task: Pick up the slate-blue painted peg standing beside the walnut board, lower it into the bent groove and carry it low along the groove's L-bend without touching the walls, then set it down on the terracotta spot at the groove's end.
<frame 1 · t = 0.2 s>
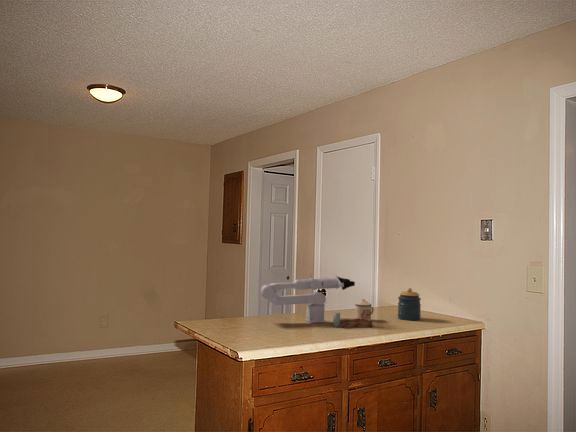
hand: (352, 282, 269), 21 cm above the counter, tool horizontal, fingers open, 7 cm apart
teacup with lid: (364, 320, 274), on the counter
peg: (336, 326, 251), on the counter
groove board: (353, 325, 256), on the counter
canister: (409, 319, 282), on the counter
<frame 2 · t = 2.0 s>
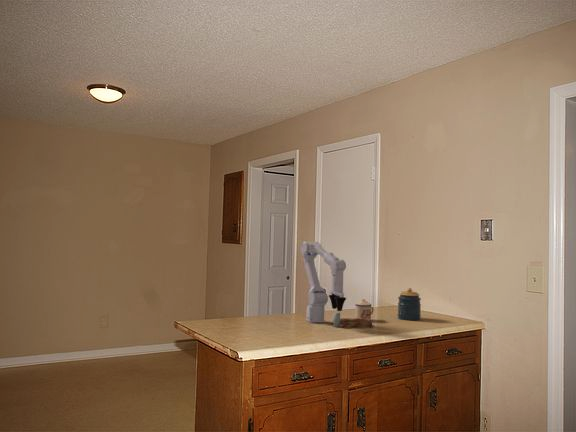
hand: (336, 309, 251), 9 cm above the counter, tool pointing down, fingers open, 7 cm apart
nothing on the counter moved.
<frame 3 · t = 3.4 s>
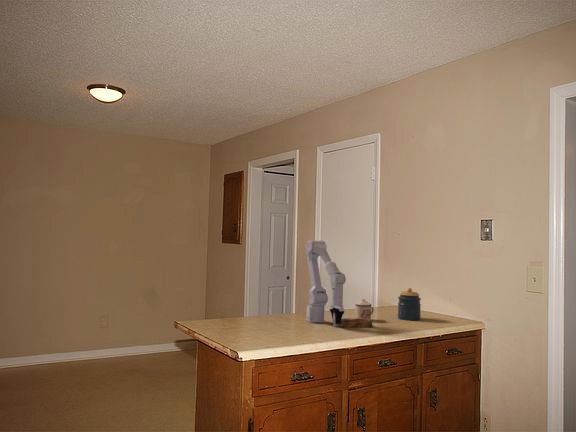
hand: (336, 323, 251), 2 cm above the counter, tool pointing down, fingers closed on peg, 3 cm apart
peg: (336, 326, 251), on the counter, touching gripper
everything else where it was.
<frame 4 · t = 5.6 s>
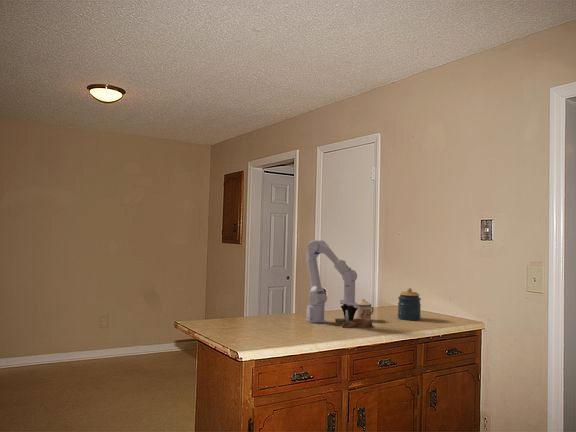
hand: (348, 319, 254), 3 cm above the counter, tool pointing down, fingers closed on peg, 3 cm apart
peg: (348, 323, 254), point 1 cm above the counter, touching gripper
everything else where it was.
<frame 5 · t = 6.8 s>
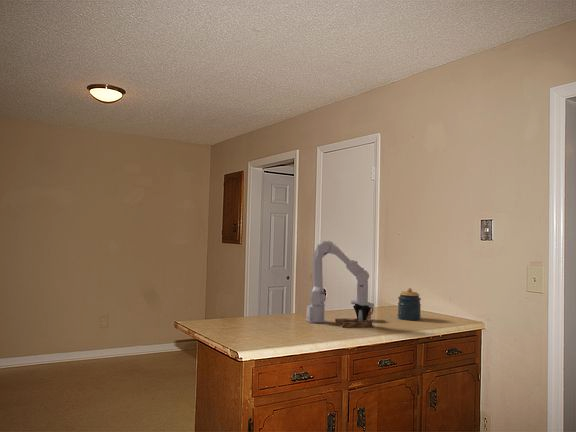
hand: (361, 319, 255), 3 cm above the counter, tool pointing down, fingers closed on peg, 3 cm apart
peg: (361, 323, 255), point 1 cm above the counter, touching gripper
everything else where it was.
when the fingers open (3 cm above the counter, at t = 8.0 s): peg stays where it is, resting on groove board.
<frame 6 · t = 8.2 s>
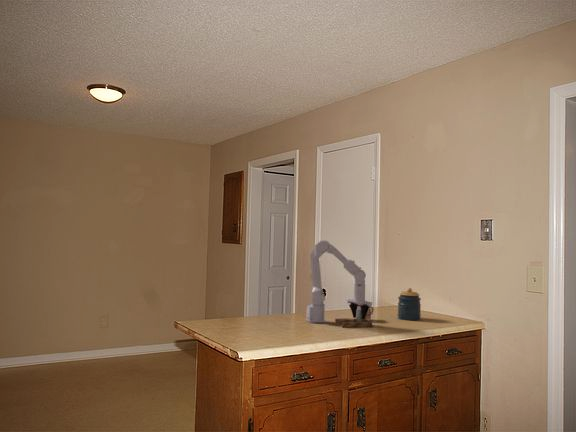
hand: (359, 318, 259), 3 cm above the counter, tool pointing down, fingers open, 5 cm apart
peg: (358, 323, 259), point 1 cm above the counter, touching groove board
everything else where it was.
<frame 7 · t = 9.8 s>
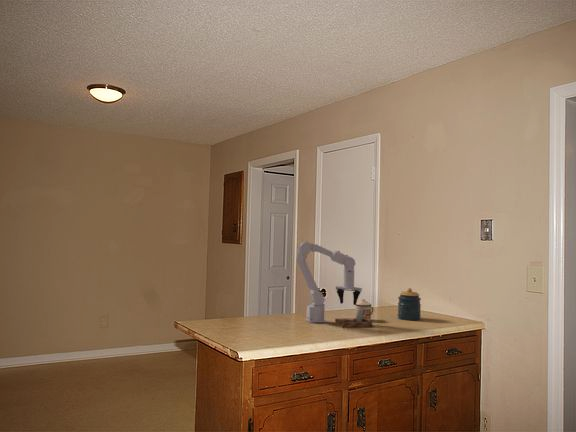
hand: (348, 304, 264), 10 cm above the counter, tool pointing down, fingers open, 7 cm apart
nothing on the counter moved.
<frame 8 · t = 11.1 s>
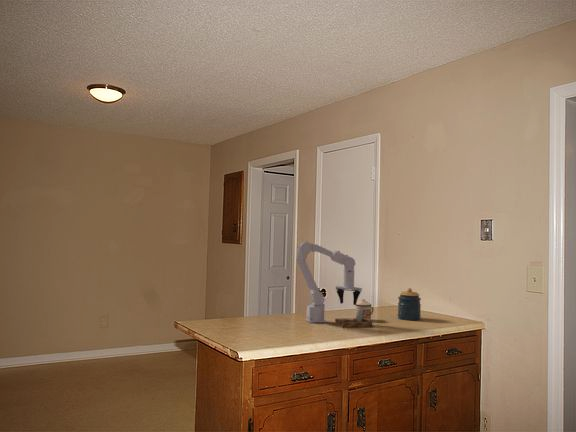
hand: (348, 304, 264), 10 cm above the counter, tool pointing down, fingers open, 7 cm apart
nothing on the counter moved.
at the end: peg 0.0 cm from the target spot on the groove board, point 0.6 cm above the groove board's base; peg tilted 0°; the gripper is holding nothing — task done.
